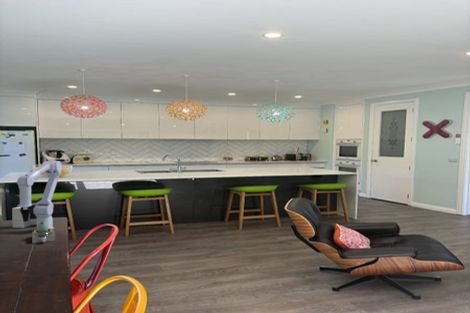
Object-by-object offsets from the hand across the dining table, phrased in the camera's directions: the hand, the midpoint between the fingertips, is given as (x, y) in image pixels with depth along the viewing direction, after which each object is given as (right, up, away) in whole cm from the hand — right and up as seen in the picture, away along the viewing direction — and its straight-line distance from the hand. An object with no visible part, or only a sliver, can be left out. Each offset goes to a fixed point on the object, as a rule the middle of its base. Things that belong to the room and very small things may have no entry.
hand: (25, 220), depth 210 cm
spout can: (+11, -9, -2) cm, 15 cm away
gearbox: (+14, -10, -7) cm, 18 cm away
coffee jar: (-5, -9, +30) cm, 32 cm away
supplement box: (-18, -9, +26) cm, 32 cm away
